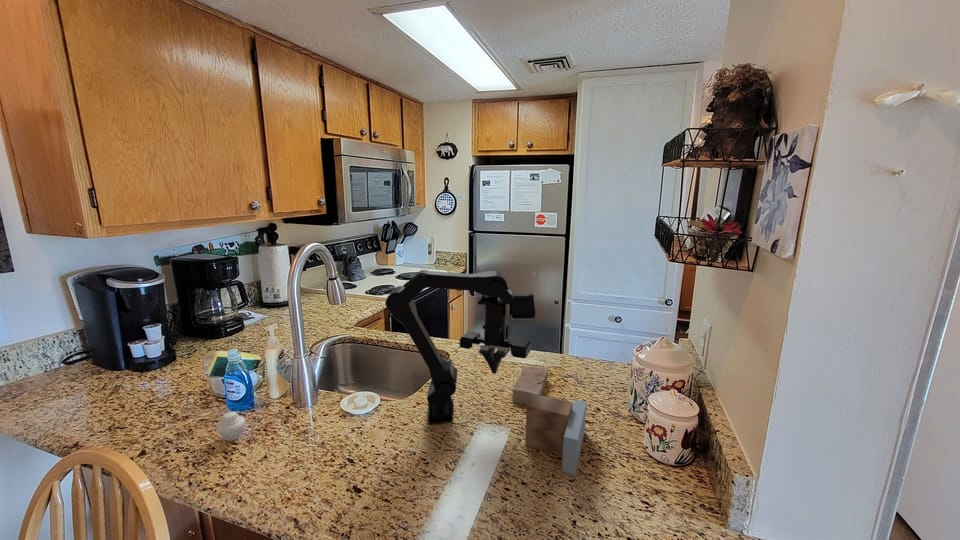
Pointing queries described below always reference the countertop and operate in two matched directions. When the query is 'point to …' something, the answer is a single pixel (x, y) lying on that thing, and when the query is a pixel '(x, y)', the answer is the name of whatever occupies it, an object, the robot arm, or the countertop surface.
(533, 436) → the walnut box
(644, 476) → the countertop surface
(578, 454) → the slate board
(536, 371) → the brick
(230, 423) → the grey rounded lump
